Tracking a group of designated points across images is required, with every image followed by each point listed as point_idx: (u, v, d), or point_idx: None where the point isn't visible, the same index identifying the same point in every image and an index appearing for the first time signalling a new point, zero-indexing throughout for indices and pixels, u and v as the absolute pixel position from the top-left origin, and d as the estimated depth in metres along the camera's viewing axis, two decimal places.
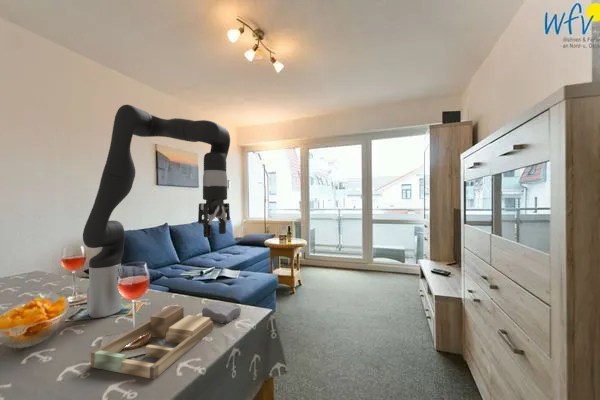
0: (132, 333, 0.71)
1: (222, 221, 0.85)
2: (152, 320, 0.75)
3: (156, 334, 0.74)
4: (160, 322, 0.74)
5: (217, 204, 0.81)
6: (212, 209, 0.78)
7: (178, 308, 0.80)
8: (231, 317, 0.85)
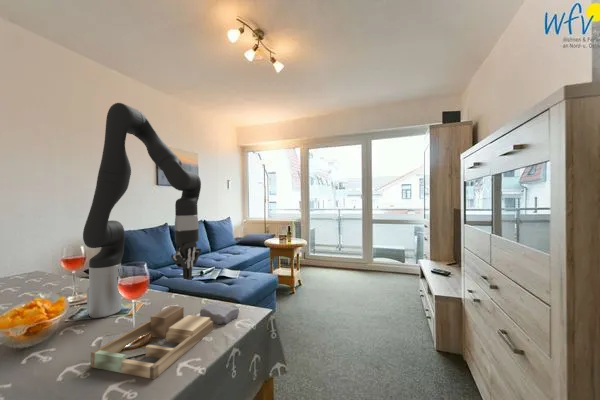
0: (132, 333, 0.71)
1: None
2: (152, 320, 0.75)
3: (156, 334, 0.74)
4: (160, 322, 0.74)
5: (188, 246, 0.86)
6: (185, 255, 0.85)
7: (178, 308, 0.80)
8: (229, 318, 0.84)
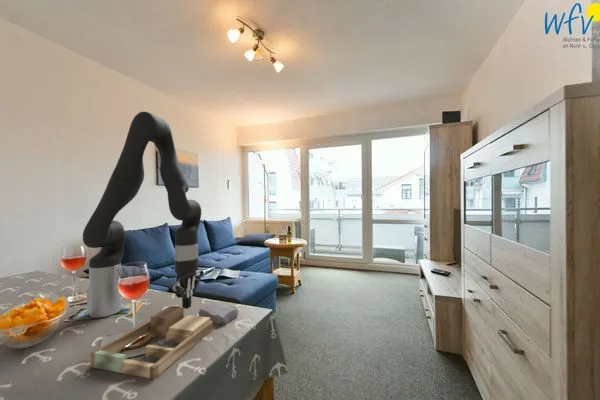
0: (132, 333, 0.71)
1: None
2: (152, 320, 0.75)
3: (156, 334, 0.74)
4: (160, 322, 0.74)
5: (188, 275, 0.86)
6: (184, 285, 0.84)
7: (178, 308, 0.80)
8: (228, 319, 0.84)
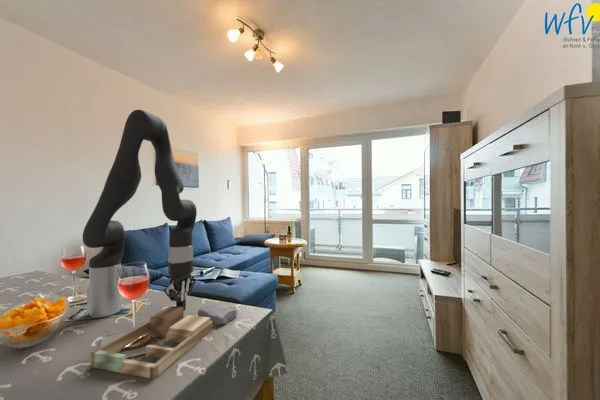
0: (132, 333, 0.71)
1: None
2: (152, 320, 0.75)
3: (156, 334, 0.74)
4: (160, 322, 0.74)
5: (182, 278, 0.83)
6: (178, 288, 0.81)
7: (178, 308, 0.80)
8: (227, 319, 0.83)
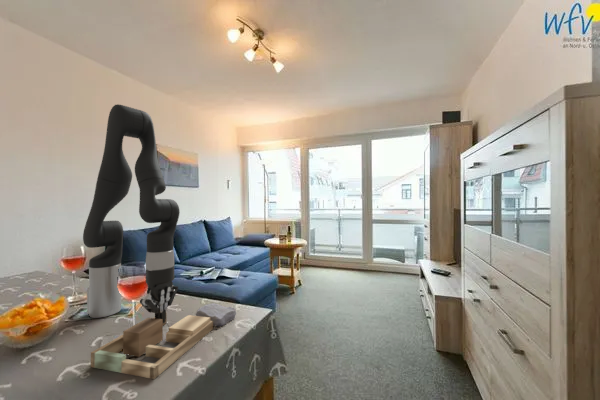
0: None
1: None
2: (125, 335, 0.66)
3: (130, 351, 0.65)
4: (134, 338, 0.65)
5: (162, 287, 0.75)
6: (157, 298, 0.73)
7: (156, 320, 0.72)
8: (226, 320, 0.83)
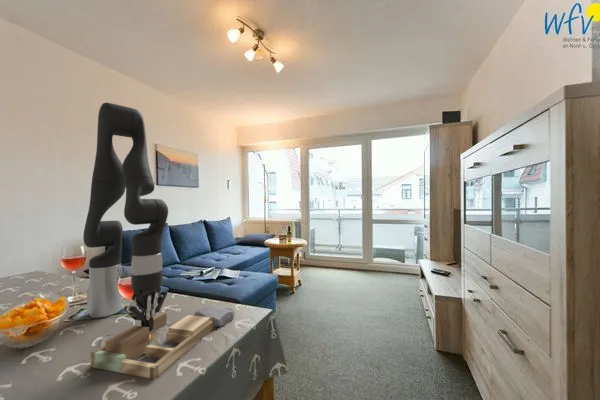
0: None
1: None
2: (107, 345, 0.61)
3: None
4: (117, 348, 0.61)
5: (149, 292, 0.70)
6: (143, 305, 0.68)
7: (142, 329, 0.67)
8: (224, 321, 0.82)
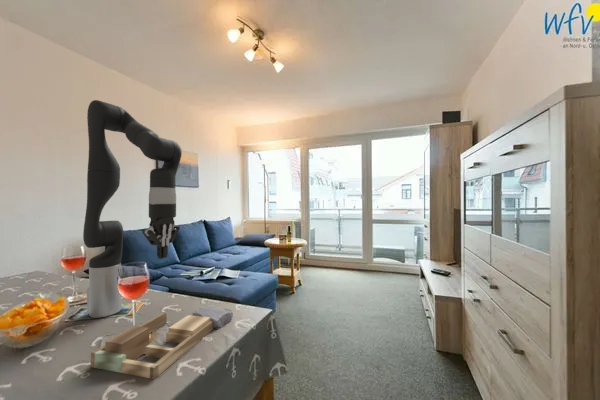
0: None
1: None
2: (107, 346, 0.61)
3: None
4: (117, 349, 0.61)
5: (164, 222, 0.78)
6: (159, 231, 0.76)
7: (142, 329, 0.67)
8: (222, 322, 0.81)
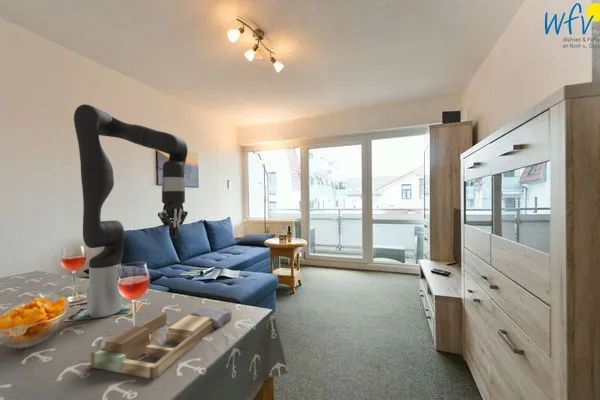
0: None
1: None
2: (107, 346, 0.61)
3: None
4: (117, 349, 0.61)
5: (175, 207, 0.91)
6: (171, 214, 0.90)
7: (142, 329, 0.67)
8: (222, 322, 0.81)
